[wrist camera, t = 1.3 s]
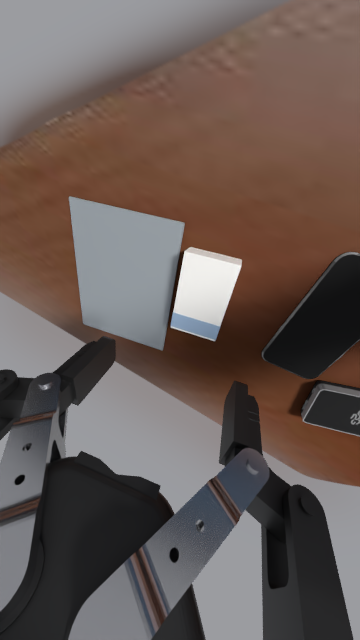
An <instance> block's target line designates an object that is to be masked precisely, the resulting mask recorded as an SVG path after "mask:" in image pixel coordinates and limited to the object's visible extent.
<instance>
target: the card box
mask: <svg viewBox="0 0 360 640" xmlns="http://www.w3.org/2000/svg"><path fill="white" fill-rule="evenodd" d="M241 266H242V260H241V259H237V258H233V257H229V256H225V255H221V254H217V253H213V252H209V251H205V250H201V249H197V248H193V247H190V248H188V249H187V250H185V251H184V257H183V262H182V267H181V273H180V278H179V284H178V289H177V295H176V300H175V306H174V311H173V315H172V321H171V328H174V329H177V330H180V331H183V332H187V333H190V334H193V335H196V336H199V337H202V338H206V339H209V340H212V341H215V340H216V338H217V335H218V332H219V329H220V326H221V323H222V320H223V317H224V314H225V311H226V308H227V306H228V303H229V300H230V297H231V294H232V291H233V289H234V286H235V283H236V280H237V277H238V274H239V271H240V269H241Z"/></svg>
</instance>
